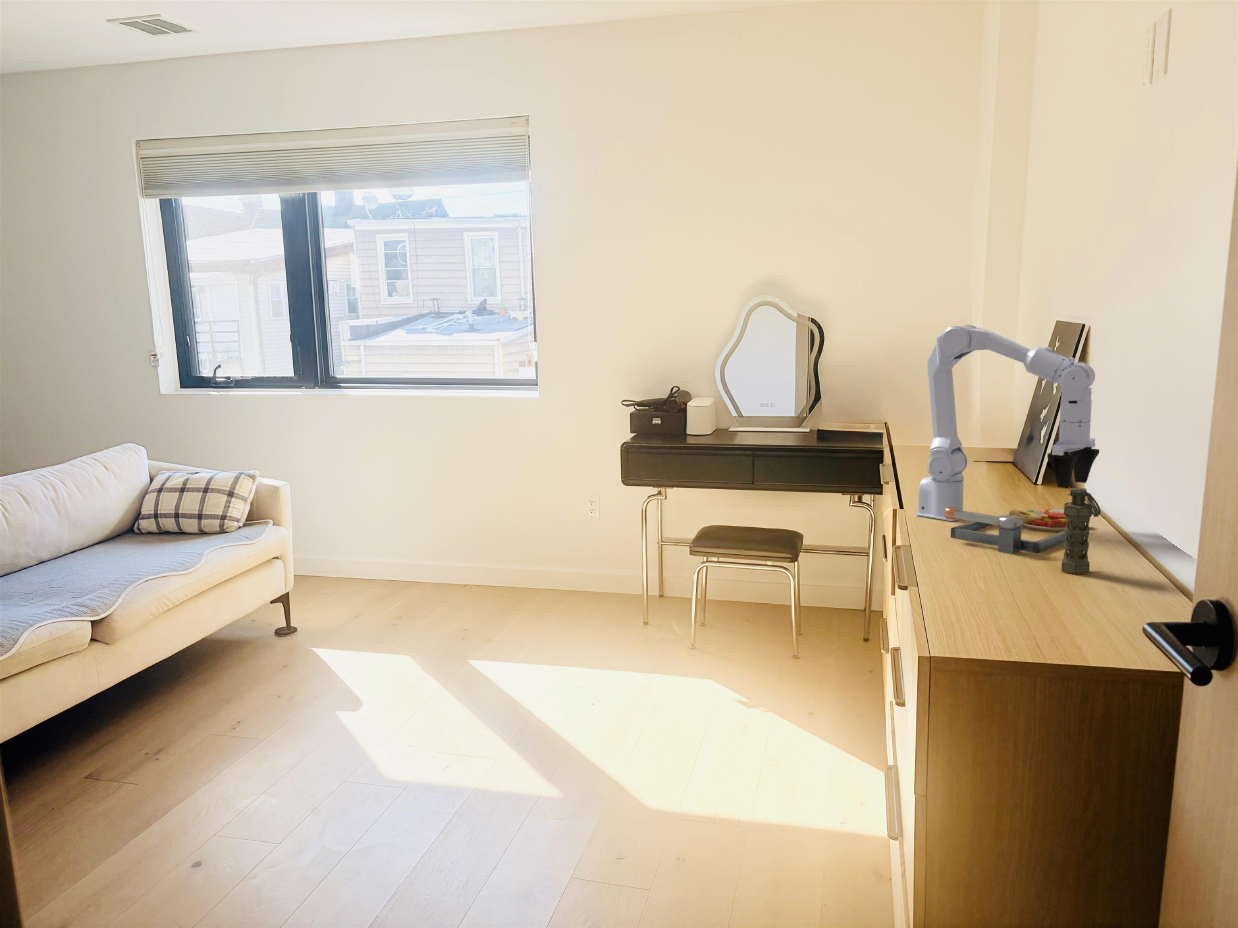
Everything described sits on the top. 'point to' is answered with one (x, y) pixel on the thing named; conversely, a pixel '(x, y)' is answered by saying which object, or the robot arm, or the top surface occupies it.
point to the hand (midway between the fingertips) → (1072, 484)
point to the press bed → (1005, 538)
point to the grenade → (1078, 531)
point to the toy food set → (1042, 519)
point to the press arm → (985, 518)
